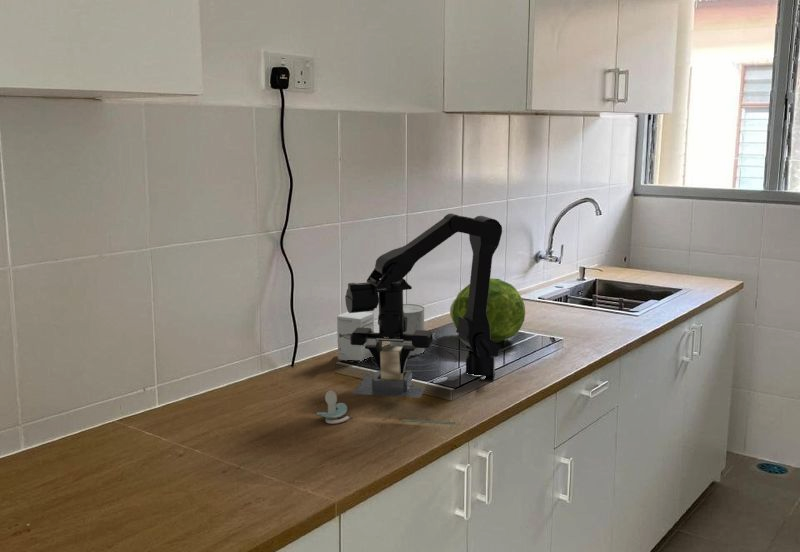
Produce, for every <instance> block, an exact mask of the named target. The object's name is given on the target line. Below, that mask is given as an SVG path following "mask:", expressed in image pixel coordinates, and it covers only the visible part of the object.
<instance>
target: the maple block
mask: <svg viewBox="0 0 800 552" xmlns="http://www.w3.org/2000/svg"><path fill="white" fill-rule="evenodd" d="M401 349H402V347H397V346H390V345H384V346H382V350H381V351H380V363H381V379H388V380H403V374H401V369H400V367H401Z"/></svg>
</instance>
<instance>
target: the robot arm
mask: <svg viewBox="0 0 800 552" xmlns="http://www.w3.org/2000/svg"><path fill="white" fill-rule="evenodd" d="M457 233H462V234H467V235H469V237H468V239H469V242H470V246H471V247H470V248H471V250H472V261H471V271H470V280H469V284H470V289H469V299H468V309H467V312H466V313H465V315H464V317H460V316H459V317H458V328H456V330H455V332H456V333H457V335H458V339H459V340H460V341H461V342H462V344H464V345H465V348H466V349H467V350H469V351H468V353H467V357H466V358H465V374H466V373H468V374H474V375H485V376H486V378H485V379H484V380H483V381H488V382H490V381H492V382H493V381H494V380H495V378H496V377H495V376H496V373H495V371H496V370H495V369H496V366H495V364H496V362H495V361H496V357H497V356H499V352H500V350H501V348H500V346H499V345H497V343H494V342H493V341H492V340H491V335H490V325H489V321H488V317H487V303H488V294H489V284H490V278H491V275H492V263H493V256H494V254H495V252H496V251H497V249H498V248H499V246H500V241H501V239H502V233H503V226H502V225H501V223H500V222H499V220H497V219H495V218H491V217H488V216H484V215H477V216H475V217H474V218H472V217H467V216H462V215H458V214H454V213H452V212H451V213H448V214H446V215H445V216H444V217H443V218H442V219H440V220H439V221H438V222H436V223H435V224H434V225H432V226H431V227H429V228H428V229H426V230H425V231H423V232H422V233H421V234H420V235H418V236H417V237H415V238H414V239H413V240H411V241H409V242H408V243H406V244H405V245H403V246H401V247H398V248H394V249H392V250H390V251H387V252H385V253H383V254H382V255H380V256H378V258H377V259H376V260H375V265H374V268H373V270H372V272H371V273H370V275H369V276H368V277H367V279H366V282H357V283H356V282H348V283H347V289H346V295H345V297H344V299H345V306H346V307H345V308H346V310H347V311H348V312H349V313H357V312H373V311H375V309H377V308H378V318H377V324H378V332H374V333H372V330H371V328H357V329H356V330H355V331H354V332H353V333H352V334H351V336H350V344H351V345H364V344H365V343H366V346H365V349H369V350H370V352H371V354H372V355H373V357H374V358H373V359H374V360H375V363H376V365H377V367H378V369H379V371H381V363H380V351H381V350H382V349H383V342H390V341H392V342H404V346H403V347H402V349H401V367H400V369H401V374H403V372H404V370H405V368H406V365H407V362H408V360H409V357H408V356H409V354H410V351H414V350H415V348H424V349H429V348H430V347H431V344H433V332H432V331H431V330H425V329H424V330H416V331H415V332H414V334H404V332H406V331H407V319H408V318H407V317H405V316H404V310H403V304H404V291H405V290H406V291H407V290H412V289H413V288H412V286H411V284H409V283H408V282H407V281H406V279H405V277H406V276H407V275H408V274H409V273H410V272H411V271H412V269H413V267H414V266H415V264H416V263H417V262H418V261H419V260H420V259H421V258H423V257H424V256H426V255H427V254H429V253H430V252H432V251H433V250H434V249H435V248H437V247H438V246H440V245H441V244H443V243H444V242H445V241H447V240H448V239H450V238H451V237H452V236H453V235H455V234H457ZM399 337H400V338H399ZM466 349H465V350H466Z"/></svg>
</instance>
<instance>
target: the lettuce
mask: <svg viewBox="0 0 800 552" xmlns="http://www.w3.org/2000/svg"><path fill="white" fill-rule="evenodd" d="M469 289H470V283H469V284H468V285H466V286H465V287H463V289H462V290H461V291H459V292H458V294H457V296H456V297H455V299H454V300H453V301H452V304H451V305H450V309H449V315H450V318H451V320H452V322H453V324H454V327H455V328H456V329H457V328H458V317H459V316H460V317H464V315H465V313H466V312H467V309H468V299H469ZM487 317H488V321H489V325H490V335H491V340H492V341H493V342H494V343H495V344H497V343H499V342H503V341H505V340H507V339H510V338H512V337H514V336H515V335H516V334H517V333H518V332H519V331H520V330H521V328H522V326H523V324H524V321H525V317H526V306H525V302H524V300H523V297H522V295H521V294H520V293H519V292H518V290H517V288H515V286H513V284H511V283H510V282H509V283H508V282H507V281H504V280H502V279H500V278H491V277H490V284H489V294H488V303H487Z"/></svg>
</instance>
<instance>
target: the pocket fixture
mask: <svg viewBox="0 0 800 552" xmlns="http://www.w3.org/2000/svg"><path fill="white" fill-rule="evenodd" d="M369 374H370V373H369ZM369 374H368V373H367V374H366V375H365V376H364V377H363V378H362V380H361V381H360V382H359V384H358V385H357V387H356V388H355V389H354V391H353V392H351V393H352V395H362V396H363V395H364V396H380V397H382V396H384V397H398V398H399V397H401V398H416V399H421V397H422V396H423V394H424V392H425V390H426V387H425V388H422V387H418V386H414V385H411V380H412V377H413V372H412V371H411V370H408V369H407V370H406V369H404V372H403V380H388V379H381V371H380V369H379V370H377V371H376V372H375V373H374V374H375V375H369Z"/></svg>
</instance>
